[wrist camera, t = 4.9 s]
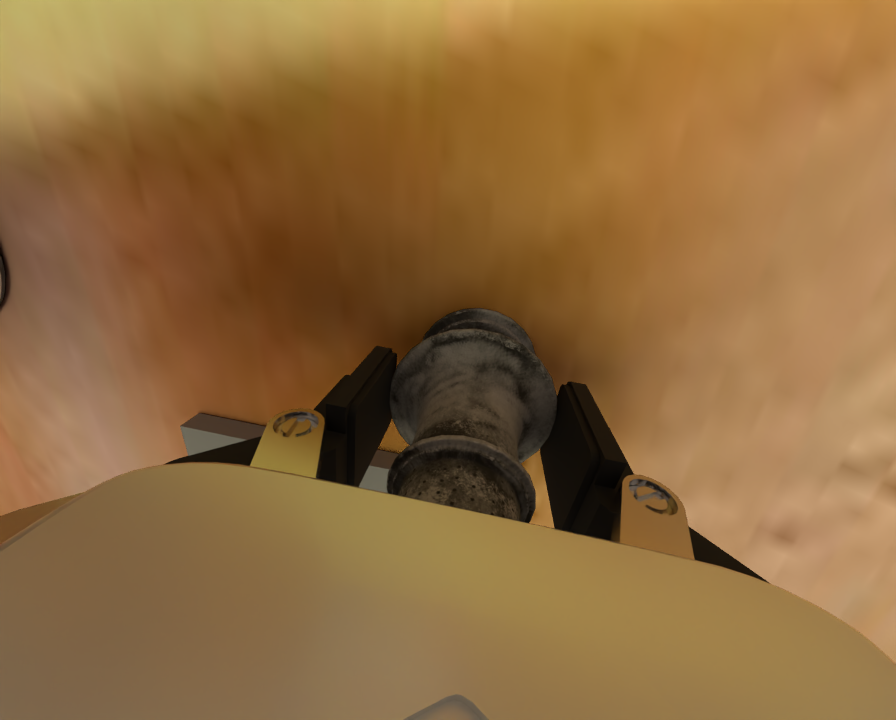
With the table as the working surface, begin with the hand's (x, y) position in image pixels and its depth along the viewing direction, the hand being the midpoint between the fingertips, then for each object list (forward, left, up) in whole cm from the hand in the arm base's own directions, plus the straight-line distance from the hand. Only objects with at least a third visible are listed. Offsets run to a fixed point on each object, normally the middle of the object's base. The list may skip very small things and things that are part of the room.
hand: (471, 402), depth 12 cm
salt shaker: (0, 0, -3) cm, 3 cm away
